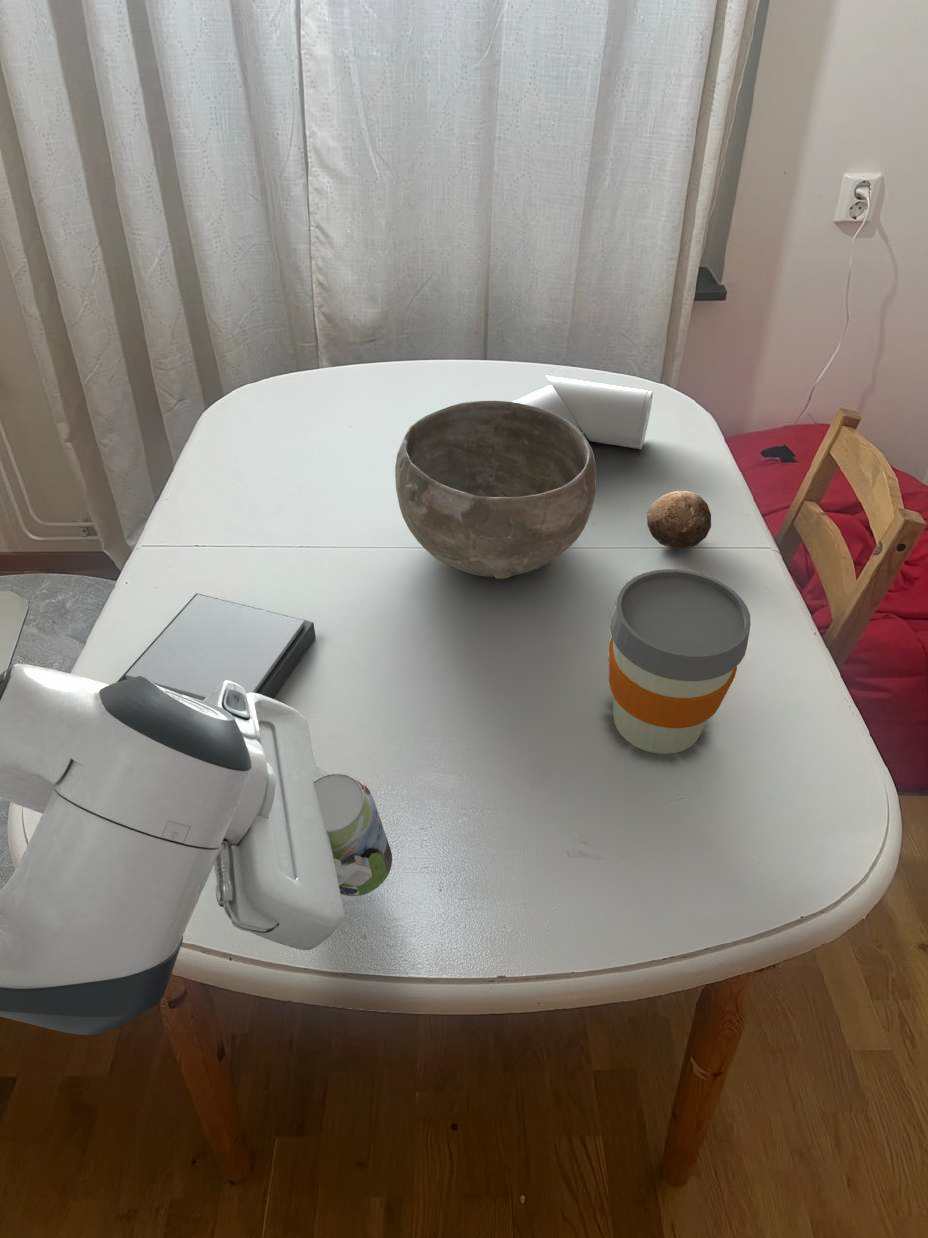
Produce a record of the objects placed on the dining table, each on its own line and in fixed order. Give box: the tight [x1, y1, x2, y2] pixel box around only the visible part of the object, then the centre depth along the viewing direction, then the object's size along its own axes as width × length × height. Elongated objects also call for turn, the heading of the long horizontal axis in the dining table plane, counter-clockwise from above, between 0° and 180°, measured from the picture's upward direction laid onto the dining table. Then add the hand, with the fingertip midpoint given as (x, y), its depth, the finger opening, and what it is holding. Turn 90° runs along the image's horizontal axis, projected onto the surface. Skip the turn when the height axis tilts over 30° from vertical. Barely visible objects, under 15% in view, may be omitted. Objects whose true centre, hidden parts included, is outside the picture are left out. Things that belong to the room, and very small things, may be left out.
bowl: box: [394, 400, 597, 580], centre depth 104 cm, size 24×24×15 cm
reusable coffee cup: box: [608, 568, 752, 755], centre depth 82 cm, size 13×13×15 cm
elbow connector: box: [513, 375, 654, 450], centre depth 125 cm, size 18×11×20 cm
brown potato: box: [646, 490, 712, 549], centre depth 109 cm, size 8×8×6 cm
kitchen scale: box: [116, 592, 317, 700], centre depth 92 cm, size 15×15×3 cm
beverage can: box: [313, 773, 393, 897], centre depth 69 cm, size 6×7×12 cm
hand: (357, 837), depth 69 cm, fingers closed on beverage can, 5 cm apart
